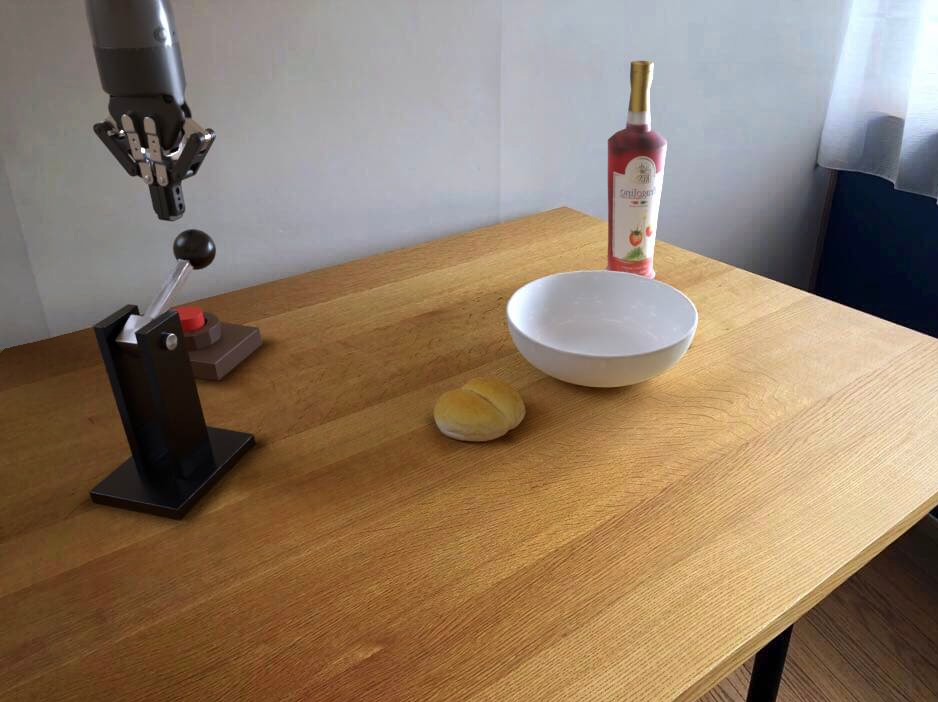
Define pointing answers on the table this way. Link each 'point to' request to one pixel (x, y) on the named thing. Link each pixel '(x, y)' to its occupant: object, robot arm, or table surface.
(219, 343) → the control block
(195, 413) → the bracket
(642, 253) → the liquor
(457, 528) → the table surface
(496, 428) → the bread roll
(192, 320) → the stop button
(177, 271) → the lever
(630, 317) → the serving bowl
